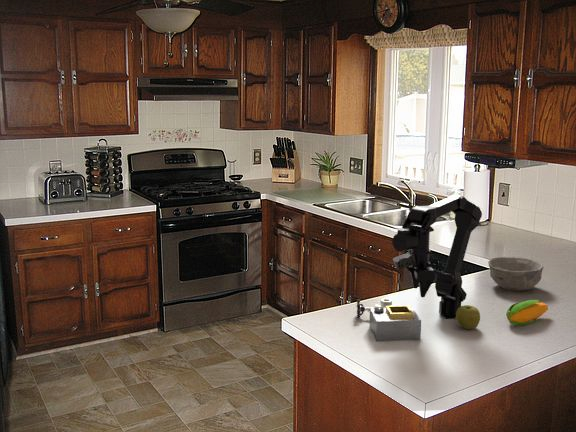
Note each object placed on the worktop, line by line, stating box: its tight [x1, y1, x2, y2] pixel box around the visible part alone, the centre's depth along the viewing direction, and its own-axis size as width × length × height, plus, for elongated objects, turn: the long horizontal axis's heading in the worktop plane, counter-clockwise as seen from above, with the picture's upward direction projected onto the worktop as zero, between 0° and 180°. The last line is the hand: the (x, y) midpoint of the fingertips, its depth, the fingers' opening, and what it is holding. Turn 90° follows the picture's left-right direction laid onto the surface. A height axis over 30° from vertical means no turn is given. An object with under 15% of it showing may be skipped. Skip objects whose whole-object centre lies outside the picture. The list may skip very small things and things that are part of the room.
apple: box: [455, 304, 481, 330], centre depth 205 cm, size 8×8×7 cm
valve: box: [356, 298, 393, 319], centre depth 215 cm, size 7×7×12 cm
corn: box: [505, 299, 549, 327], centre depth 210 cm, size 7×8×20 cm
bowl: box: [487, 256, 544, 292], centre depth 245 cm, size 21×21×10 cm
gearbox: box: [369, 304, 422, 342], centre depth 201 cm, size 14×12×8 cm
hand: (418, 292), depth 204 cm, fingers open, 9 cm apart
